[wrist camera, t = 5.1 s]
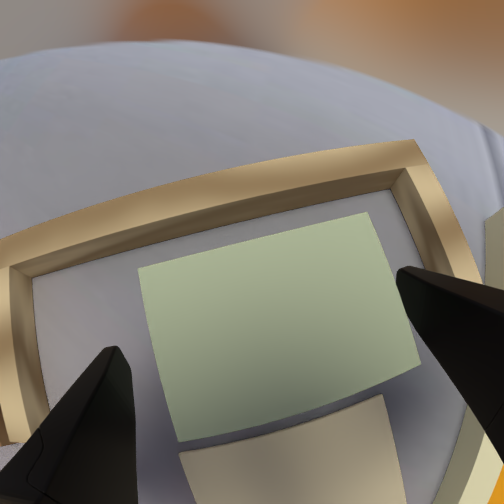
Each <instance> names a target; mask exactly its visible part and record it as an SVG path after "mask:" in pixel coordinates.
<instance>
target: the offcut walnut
mask: <svg viewBox="0 0 504 504" xmlns="http://www.w3.org/2000/svg"><path fill="white" fill-rule="evenodd" d="M15 443H19V442H10V441H9V437H8V433H7V430H6V426H5V422H4V418H3V414H2V409H1V405H0V446H6V445H10V444H15Z"/></svg>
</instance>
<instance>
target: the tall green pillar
mask: <svg viewBox="0 0 504 504" xmlns="http://www.w3.org/2000/svg"><path fill="white" fill-rule="evenodd" d="M138 273H139V279H140V285H141V291H142V297H143V302H144V307H145V313H146V318H147V323H148V327H149V332H150V337H151V341H152V346H153V350H154V355H155V359H156V363H157V367H158V371H159V375H160V379H161V383H162V387H163V391H164V394H165V398H166V402H167V405H168V409H169V412H170V416H171V419H172V422H173V426H174V429H175V432H176V435H177V439H178V442H184V441H190V440H196V439H201V438H206V437H211V436H216V435H221V434H225V433H230V432H234V431H239V430H243V429H247V428H251V427H255V426H259V425H262V424H266V423H270V422H273V421H277V420H280V419H284V418H287V417H290V416H294V415H297V414H300V413H303V412H306V411H309V410H312V409H315V408H318V407H321V406H324V405H327V404H329V403H332V402H335V401H338V400H340V399H343V398H346V397H348V396H351V395H353V394H356V393H358V392H361V391H363V390H366V389H368V388H370V387H373V386H375V385H377V384H380V383H382V382H384V381H387V380H389V379H391V378H393V377H395V376H398V375H400V374H402V373H404V372H406V371H408V370H410V369H412V368H414V367H416V366H418V365H420V364H421V362H420V358H419V355H418V351H417V348H416V344H415V341H414V338H413V334H412V331H411V328H410V325H409V321H408V318H407V315H406V312H405V309H404V306H403V303H402V300H401V297H400V294H399V291H398V289H397V286H396V283H395V280H394V277H393V275H392V272H391V269H390V267H389V264H388V261H387V259H386V256H385V254H384V251H383V249H382V246H381V244H380V241H379V239H378V236H377V234H376V231H375V229H374V227H373V224H372V222H371V220H370V217H369V215H368V213H367V212H364V213H360V214H356V215H352V216H348V217H343V218H339V219H335V220H331V221H327V222H322V223H318V224H314V225H310V226H306V227H302V228H298V229H294V230H289V231H285V232H281V233H277V234H273V235H269V236H265V237H261V238H257V239H253V240H249V241H245V242H241V243H237V244H233V245H229V246H225V247H221V248H217V249H213V250H209V251H205V252H201V253H197V254H193V255H189V256H185V257H181V258H177V259H173V260H169V261H165V262H162V263H158V264H154V265H150V266H146V267H142V268H138Z"/></svg>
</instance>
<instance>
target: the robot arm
mask: <svg viewBox="0 0 504 504" xmlns="http://www.w3.org/2000/svg"><path fill="white" fill-rule="evenodd" d="M396 286H397V289H398V291H399V294H400V297H401V300H402V303H403V306H404V309H405V312H406V314H407V316H408V318H409V319H410V321H411V323H412V324H413V326H414V328H415V329H416V331H417V333H418V334H419V336H420V337H421V338H422V340H423V341H424V343H425V344H426V345H427V347H428V348H429V349H430V351H431V352H432V353H433V355H434V356H435V358H436V359H437V360H438V362H439V363H440V365H441V366H442V368H443V369H444V370H445V372H446V373H447V375H448V376H449V378H450V379H451V380H452V382H453V383H454V385H455V386H456V388H457V389H458V391H459V392H460V394H461V395H462V397H463V398H464V400H465V401H466V403H467V404H468V406H469V407H470V409H471V411H472V412H473V414H474V415H475V417H476V418H477V420H478V422H479V423H480V425H481V426H482V428H483V430H484V431H485V433H486V435H487V436H488V438H489V440H490V441H491V443H492V445H493V446H494V448H495V450H496V452H497V453H498V455H499V457H500V458H501V460H502V462H503V464H504V290H502V289H498V288H494V287H491V286H487V285H483V284H479V283H475V282H472V281H468V280H464V279H460V278H456V277H452V276H448V275H445V274H441V273H437V272H433V271H429V270H425V269H421V268H417V267H413V266H406V267H403V268H400V269H399V270H398V271H397V274H396ZM0 504H138V492H137V472H136V420H135V407H134V397H133V385H132V373H131V368H130V366H129V364H128V362H127V360H126V359H125V357H124V355H123V353H122V352H121V350H120V348H119V347H118V346H111V347H106V348H104V349H103V350H102V351H101V352H100V353H99V354H98V356H97V357H96V358H95V359H94V360H93V361H92V363H91V364H90V365H89V366H88V367H87V368H86V370H85V371H84V372H83V373H82V374H81V375H80V377H79V378H78V379H77V380H76V381H75V383H74V384H73V385H72V386H71V387H70V389H69V390H68V391H67V392H66V393H65V395H64V396H63V397H62V398H61V399H60V401H59V402H58V403H57V404H56V406H55V407H54V408H53V409H52V410H51V412H50V413H49V414H48V415H47V417H46V418H45V419H44V420H43V422H42V423H41V424H40V425H39V428H37V429H36V430H35V432H34V433H33V434H32V435H31V437H30V438H29V439H28V440H27V442H26V443H25V444H24V445H23V447H22V448H21V449H20V450H19V451H18V452H17V453H16V455H15V456H14V457H13V458H12V459H11V460H10V461H9V462H8V463H7V465H6V466H5V467H4V468H3V469H2V470H1V471H0Z"/></svg>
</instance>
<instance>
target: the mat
mask: <svg viewBox="0 0 504 504" xmlns="http://www.w3.org/2000/svg"><path fill="white" fill-rule="evenodd" d="M178 455H179V458H180V461H181V463H182V466H183V469H184V472H185V475H186V477H187V480H188V483H189V486H190V488H191V491H192V493H193V496H194V498H195V501H196V503H197V504H407V503H406V497H405V491H404V486H403V481H402V476H401V471H400V466H399V461H398V456H397V452H396V447H395V443H394V438H393V434H392V430H391V426H390V421H389V417H388V413H387V409H386V406H385V402H384V398H383V394H378V395H376V396H374V397H371V398H369V399H367V400H364V401H362V402H359V403H357V404H354V405H352V406H349V407H347V408H344V409H342V410H339V411H336V412H334V413H331V414H328V415H325V416H322V417H320V418H317V419H314V420H311V421H308V422H305V423H302V424H298V425H295V426H292V427H289V428H285V429H282V430H279V431H275V432H271V433H268V434H264V435H260V436H257V437H253V438H249V439H244V440H240V441H236V442H231V443H227V444H222V445H217V446H212V447H207V448H202V449H196V450H190V451H184V452H180V453H179V454H178Z"/></svg>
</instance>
